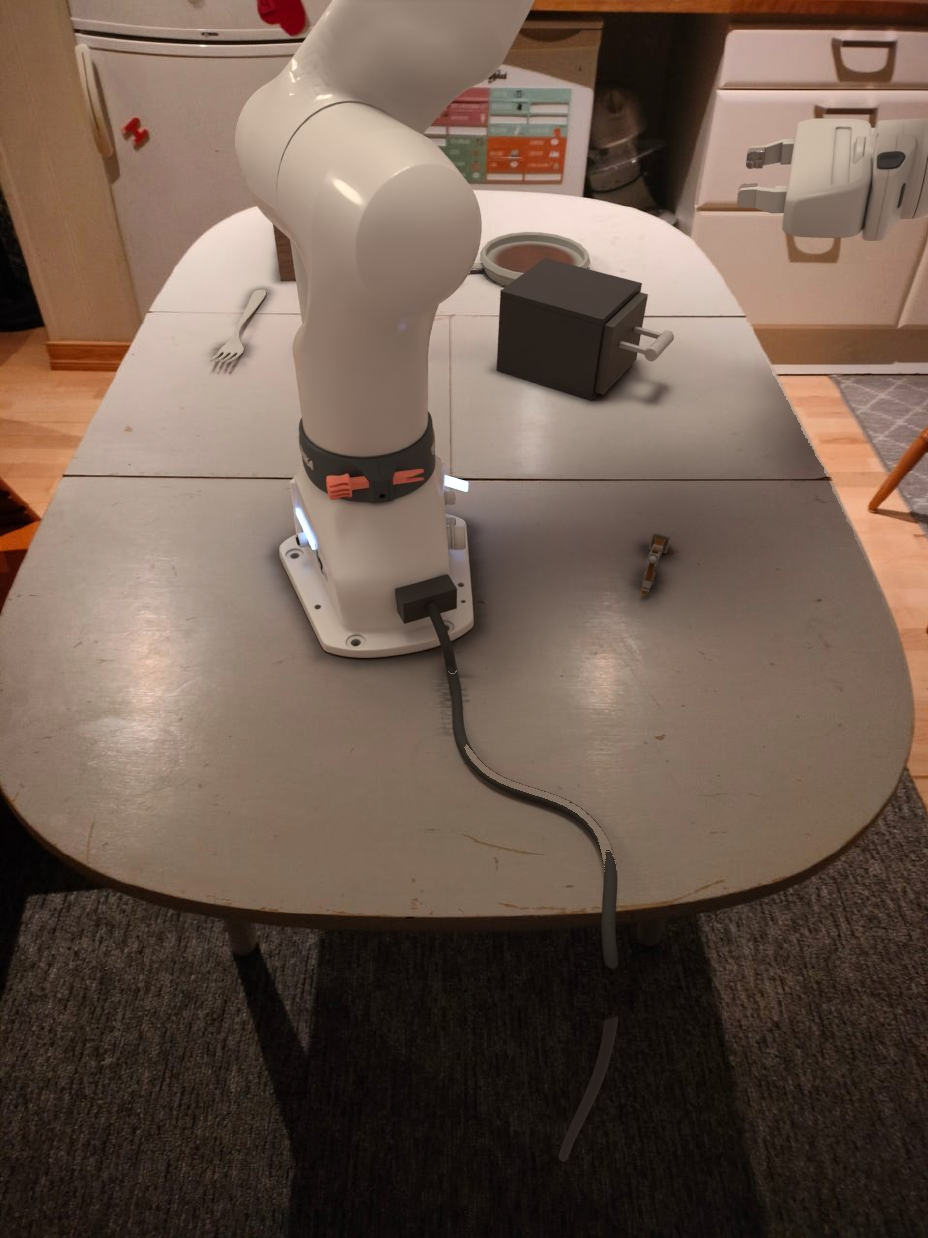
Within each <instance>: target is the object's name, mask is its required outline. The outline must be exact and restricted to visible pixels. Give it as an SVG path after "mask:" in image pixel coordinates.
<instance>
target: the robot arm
mask: <svg viewBox="0 0 928 1238" xmlns="http://www.w3.org/2000/svg"><path fill="white" fill-rule="evenodd" d="M535 2H536V0H331V1H330V2H329V5H328V6H327V7H326V9H325V10H324V12H323V13H322V14H321V16H320V17H319V19H318V20H317V22H316V23H315V24H314V25H313V28H312V29H311V30H310V32H309V33H308V34H307V36H306V37H305V39H304V40H303V41H302V43H301V44H300V46H299V47H298V48H297V50H296V51H295V52H294V54H293V55H292V57H291V58H290V60H289V61H288V62H287V64H286V65H285V67H284V68H283V69H282V70H281V72H280V73H279V74H278V75H276V76H275V77H274V78H273V79H272V80H270V81H268V82H267V83H266V84H264V85H262V86H261V87H260V88H258V89H257V90H256V91H255V92H254V93H253V94H252V95H251V96H250V97H249V98H248V99H247V100H246V103H245V104H244V105H243V107H242V109H241V111H240V114H239V116H238V119H237V122H236V125H235V126H236V127H235V131H234V153H235V159H236V163H237V166H238V169H239V172H240V174H241V176H242V180H243V182H244V184H245V186H246V188H247V190H248V192H249V194H250V196H251V198H252V200H253V202H254V204H255V205H256V207H257V208H258V210H259V212H261V214H262V215H263V216H264V217H265V218H266V219H267V220H268V221H269V222H270V223H271V224H272V225H273V224H274V225H275V226H276V227H277V228H278V229H279V230H280V231H281V232H283V233H284V234H285V235H286V236H287V237H288V238H289V239H290V240H291V241H293V243H294V244H295V245H296V247H297V249H298V251H299V253H300V255H301V257H302V260H303V263H304V266H305V269H306V273H307V279H308V300H307V309H306V317H305V322H304V323H303V324H302V323H301V325H300V327H299V328H298V329H297V330H296V333H295V335H294V338H293V341H292V355H293V361H294V369H295V376H296V385H297V392H298V399H299V407H300V415H301V417H300V419H299V423H298V433H299V434H298V447H299V451H300V454H301V460H302V461H301V462H302V465H301V467H300V468H299V470H298V472H297V473H296V474H295V475H294V476H293V477H292V479H291V480H290V481H289V488H290V497H291V505H292V514H293V520H294V527H295V534H293V535H291V536H290V537H288V538H286V539H285V540H284V541H283V542H282V543H281V544H280V545H279V547H278V548H279V549H278V551H279V560H280V561H281V563H282V566H283V568H284V570H285V572H286V574H287V576H288V579H289V580H290V583H291V584H292V587H293V589H294V591H295V593H296V595H297V597H298V600H299V602H300V604H301V606H302V608H303V610H304V612H305V614H306V617H307V619H308V621H309V623H310V625H311V628H312V629H313V631H314V634H315V636H316V638H317V640H318V642H319V644H320V646H321V647H322V649H323V650H324V651H325V652H326V653H328V654H329V653H330V654H332V655H336V656H340V657H347V658H359V659H365V658H366V659H367V658H368V659H369V658H371V659H372V658H373V659H374V658H383V657H384V658H385V657H394V656H400V655H407V654H411V653H412V654H413V653H417V652H422V651H427V650H429V649H434V648H437V647H440V648H441V653H442V656H443V657H442V658H443V661H444V666H445V671H446V676H447V680H448V684H449V693H450V699H451V719H452V720H451V722H452V730H453V735H454V739H455V743H456V744H457V747H458V750H459V751H460V753H461V755H462V757H463V758H464V759H465V761H466V762H467V763H468V765H469V766H470V767H471V768H472V770H473V771H474V772H475V773H476V774H477V775H478V776H479V777H480V778H482V779H484V780H485V781H486V782H487V783H489V784H491V785H492V786H494V787H496V788H497V789H500V790H502V791H505V792H507V793H509V794H512V795H515V796H518V797H521V798H523V799H528V800H530V801H534V802H537V803H540V804H543V805H546V806H549V807H552V808H553V809H557V810H559V811H561V812H562V813H565V814H567V815H568V816H570V817H572V818H573V819H574V820H575V821H577V822H578V823H580V824H581V825H582V827H584V828H585V829H586V831H587V832H588V834H590V835H591V837H592V839H593V840H594V842H595V844H596V846H597V848H598V850H599V854H600V856H601V858H602V853H601V849H600V845H599V842H598V838H597V836H596V835H595V833H594V831H593V829H592V828H591V827H590V826H589V825H588V823H587V822H586V821H585V820H584V819H583V818H581V817H580V816H579V815H578V814H577V813H575V812H573V811H572V810H570V809H568V808H567V807H565V806H563V805H560V804H558V803H556V802H553V801H550V800H548V799H545V798H542V797H539V796H535V795H532V794H529V793H526V792H523V791H520V790H517V789H514V788H511V787H509V786H506V785H504V784H501V783H499V782H497V781H496V780H494V779H492V778H490V777H489V776H487V775H486V774H485V773H483V772H482V771H481V770H480V769H479V768H478V767H477V766H476V765H475V764H474V763H473V762H472V761H471V759H470V758H469V756H468V755H467V753H466V750H465V748H464V747H465V746H466V744H467V745H468V746H469V748H470V749H471V750H472V751H473V753H474V754H475V755H476V756H477V758H478V759H479V760H480V761H481V762H482V763H483V764H484V765H485V766H486V767H488V768H489V769H490V770H492V771H493V772H495V771H494V770H493V769H491V767H489V766H487V765H486V764H485V762H483V761H482V760H481V759H480V757H479V756H478V755H477V754H476V752H475V751H474V749H473V747H472V746H471V744H470V742H469V739H468V736H467V732H466V728H465V721H464V706H463V694H462V687H461V681H460V676H459V672H458V671H459V670H458V666H457V662H456V657H455V651H454V648H453V647H454V646H453V644H452V642H453V641H455V640H456V639H458V638H461V637H462V636H464V635H465V634H466V633H468V632H469V631H470V630H471V629H472V628H473V627H474V625H475V624H474V623H475V617H474V616H475V615H474V604H473V603H474V602H473V592H472V589H473V588H472V579H471V564H470V554H469V553H470V552H469V541H468V528H467V523H466V521H465V520H464V519H462V518H461V517H459V516H456V515H452V514H448V513H447V512H446V507H447V506H455V505H456V491H455V490H452V489H451V490H449V489H448V490H447V489H446V487H449V488H453V489H456V490H459V491H462V492H466V493H467V492H468V491H469V481H467V480H463V479H459V478H456V477H452V476H449V475H446V461H444V460H443V459H442V458H440V457H439V456H438V455H436V435H435V434H436V433H435V429H434V424H433V417H432V415H431V412H430V411H429V350H430V349H429V347H430V340H431V336H432V335H431V334H432V329H433V326H434V321H435V317H436V315H437V311H438V308H439V306H440V304H442V303H444V301H446V300H447V299H449V298H450V297H451V296H452V295H453V294H454V293H455V292H456V291H457V290H459V288H460V287H461V286H462V285H463V283H464V282H465V280H466V279H467V278H468V276H469V274H470V272H471V271H472V270H473V269H472V267H473V264H474V263H476V259H477V257H478V254H479V250H480V246H481V240H482V233H483V231H482V230H483V227H482V226H483V221H482V220H483V219H482V213H481V208H480V204H479V201H478V198H477V196H476V194H475V192H474V189H473V188H472V186H471V185H470V183H469V181H467V179H466V178H465V176H463V174H462V173H461V172H460V170H459V169H458V168H457V166H456V165H455V163H454V162H453V161H452V160H451V159H450V158H449V157H448V156H447V155H446V154H445V152H444V151H443V150H442V149H441V148H440V147H439V146H438V144H436V143H435V142H434V141H433V140H432V139H430V138H429V137H427V136H426V135H424V134H425V133H426V131H427V130H428V129H429V128H430V127H431V126H432V125H433V123H434V122H435V121H436V120H437V118H439V116H440V115H441V114H442V113H443V112H444V111H445V110H446V109H447V107H448V106H449V105H450V104H452V103H453V102H454V101H455V100H456V99H457V98H458V97H460V96H461V95H462V94H463V93H465V92H466V91H468V90H469V89H471V88H473V87H475V86H477V85H480V84H482V83H483V82H485V81H486V80H488V79H489V78H491V77H492V76H493V75H494V74H495V73H496V72H497V71H498V69H499V68H501V66H502V64H503V63H504V62H505V59H506V57H507V55H509V54H508V53H509V52H510V50H511V48H512V46H513V44H514V42H515V40H516V38H517V37H518V35H519V32H520V31H521V29H522V27H523V25H524V23H525V21H526V19H527V17H528V15H529V14H530V11H531V10H532V8H533V6H534V3H535ZM774 164H780V165H781V166H783V165H785V166H787V165H790V167H789V175H788V181H787V185H775V186H774V188H773V187H765V186H758V183H757V182H756V183H755V182H754V183H743V184H740V186H739V187H738V191H737V199H736V206H737V207H738V208H740V209H752V208H754V209H757V210H759V211H763V212H766V213H769V214H783V215H782V224H781V231H783V232H784V233H786V234H788V235H790V236H793V237H798V238H811V239H815V238H816V239H817V238H818V239H844V238H845V239H846V238H851V237H856V236H858V235H859V234H860V233H861V234H860V236H861V240H863V241H866V242H881V241H883V240H885V239H886V238H887V237H888V236H889V234H890V233H891V231H892V230H893V229H894V227H895V226H896V225H897V224H898V223H899V222H900V221H901V220H916V219H920V218H924V217H927V216H928V117H920V118H901V119H900V118H899V119H881V120H880V119H879V120H878V121H877V122H876V124H875V127H872V125H871V123H870V122H869V121H868V120H865V119H860V118H847V117H846V118H845V117H844V118H843V117H841V118H837V117H836V118H835V117H833V118H832V117H831V118H829V117H828V118H826V117H825V118H824V117H823V118H808V119H805V120H802V121H799V122H798V123H797V124H796V128H795V135H794V138H782V139H779V140H776V141H773V142H770V143H767V144H765V145H751V146H749V148H748V149H747V152H746V160H745V167H746V168H747V169H748V170H752V169H755V170H756V169H757V170H758V169H759V170H760V169H763V168H764V166H769V165H774ZM456 670H457V672H456V673H455V671H456ZM448 671H449V672H450V673H455V674H450V673H449V672H448ZM495 773H496V774H498V775H500V776H502V777H504V776H503V775H501V774H499V773H497V772H495ZM504 778H506V779H509V780H511V781H513V782H516V783H519V784H522V785H525V786H528V787H532V788H535V789H538V790H541V791H544V792H548V793H550V794H553V795H556V796H559V797H561V798H563V799H565V800H568V801H570V802H571V803H573V804H575V805H576V806H578V807H580V808H581V809H582V810H584V808H582V807H581V806H579V805H578V804H577V803H575V802H572V801H571V800H569V799H567V798H564V797H562V796H561V795H557V794H555V793H552V792H549V791H547V790H546V791H545V790H542V789H540V788H536V787H533V786H529V785H527V784H523V783H520V782H519V781H514V780H512V779H510V778H507V777H504ZM584 811H585V812H586V813H587V814H588V815H590V816H591V817H592V818H593V816H592V815H591V814H590V813H589V812H587V811H586V810H584ZM593 820H594V821H595V822H596V823H597V824H598V825H599V823H598V822H597V821H596V820H595V818H593ZM599 827H600V828H601V829H602V827H601V825H599ZM602 831H603V832H604V830H603V829H602ZM604 834H605V835H606V833H605V832H604ZM606 837H607V839H608V836H607V835H606ZM608 841H609V839H608ZM609 843H610V845H611V842H610V841H609ZM611 846H612V845H611ZM612 850H613V853H614V849H613V848H612ZM606 851H610V850H606ZM605 853H606V854H605V855H606V859H605V860H606V861H605V864H604V865H605V867H604V868H605V869H604V870H605V872H604V870H603V886H602V900H601V901H602V903H601V917H600V918H601V919H600V921H601V926H600V927H601V929H600V931H601V945H602V955H603V956H602V958H603V961H604V965H605V966H607V967H608V968H609V969H613V970H614V969H616V968H617V967H618V964H619V955H618V948H617V933H616V932H617V930H616V928H617V927H616V923H617V922H616V916H617V897H618V896H617V895H618V869H617V870H616V865H617V863H616V864H615V861H614V860H616V858H615V859H614V857H613V856H612V855H613V854H612V853H611V851H610V852H605ZM614 854H615V853H614ZM601 862H602V863H603V860H602V859H601ZM604 873H605V874H604ZM610 923H611V924H610ZM603 1022H604V1024H603V1029H602V1036H601V1042H600V1046H599V1050H598V1055H597V1058H596V1062H595V1065H594V1069H593V1071H592V1074H591V1077H590V1079H589V1082H588V1085H587V1087H586V1089H585V1092H584V1094H583V1096H582V1098H581V1101H580V1103H579V1105H578V1107H577V1110H576V1111H575V1114H574V1116H573V1118H572V1120H571V1122H570V1125H569V1127H568V1129H567V1132H566V1133H565V1136H564V1140H563V1141H562V1144H561V1147H560V1150H559V1153H558V1159H559V1161H561V1162H562V1163H563V1162H566V1161H567V1160H568V1158H569V1155H570V1153H571V1150H572V1148H573V1145H574V1143H575V1141H576V1139H577V1137H578V1135H579V1132H580V1130H581V1129H582V1126H583V1125H584V1122H585V1121H586V1118H587V1117H588V1115H589V1113H590V1111H591V1108H592V1106H593V1104H594V1102H595V1100H596V1099H597V1096H598V1093H599V1092H600V1089H601V1086H602V1084H603V1081H604V1079H605V1076H606V1073H607V1070H608V1067H609V1064H610V1061H611V1057H612V1053H613V1050H614V1045H615V1040H616V1035H617V1030H618V1024H619V1016H614V1017H610V1018H607V1019H604V1021H603Z"/></svg>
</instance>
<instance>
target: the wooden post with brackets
mask: <svg viewBox="0 0 928 1238" xmlns="http://www.w3.org/2000/svg"><path fill="white" fill-rule="evenodd" d="M671 537H672V536H671V535H670V534H665V533H661V532H656V531H652V534H651V537H650V541H649V546H648V550H650V551H649V552H648V555H647V560H646V563H647V564H648V565H647V569H646V570H645V572H644V573H643V577H642V582H641V583H642V585H641V586H642V588H641V592H640V594H641V595H644V596H648V595H649V591H650V589H651V586H653V585H654V582H655V579H656V572H655V566H656V565H658V563H659V560H661V556H662V554H663V553H664V554H667V552H668V548H669V545H670V540H671Z"/></svg>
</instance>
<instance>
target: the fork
mask: <svg viewBox="0 0 928 1238" xmlns="http://www.w3.org/2000/svg"><path fill="white" fill-rule="evenodd" d="M266 296H267V291H266V289H256V290H254V292H253V293H252V294H251V296H250V298H249V300H248V303H247V305H246V307H245V309H244V312H243V314H242V316H241V318H240V320H239V322H238V323H237V325H236V327H235V329H234V332H233V334H232V336H231V338H229V340H228V341H227V342H225V344H224V345H222V346H221V348H219V350H218V351H217V353H216V354H215V355H214V356H213V357H212V358H210V359H209V360H208V361H209V363H210V362H213V361H214V362H215V363H217V362H220V363H221V364H222V363H224V362H225V363H226V364H228V363H232V362H233V361H234V360H236V359H238V358H239V357H240V356H241V355H242V354H243V353H244V352H245V351H244V350H245V348H244V345H243V343H242V342H241V340H240V331H241V329H242V327H243V326H244V325H245V324H246V322H247V321H248V320H249V318H250V317H251V316H252V315H253V314H254V313H255V311H256V310H257V309H258V307H260V304H261V303H263V301H264V299H265V298H266ZM221 354H222V355H221ZM220 355H221V356H220Z"/></svg>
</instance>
